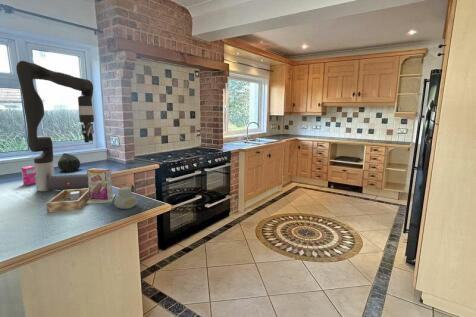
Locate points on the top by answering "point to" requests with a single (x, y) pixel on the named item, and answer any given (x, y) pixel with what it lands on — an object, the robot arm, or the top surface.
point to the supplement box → (28, 175)
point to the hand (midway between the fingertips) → (89, 141)
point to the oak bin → (58, 205)
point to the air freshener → (125, 198)
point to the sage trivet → (100, 200)
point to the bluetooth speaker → (67, 182)
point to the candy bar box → (100, 183)
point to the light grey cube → (75, 195)
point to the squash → (68, 162)
